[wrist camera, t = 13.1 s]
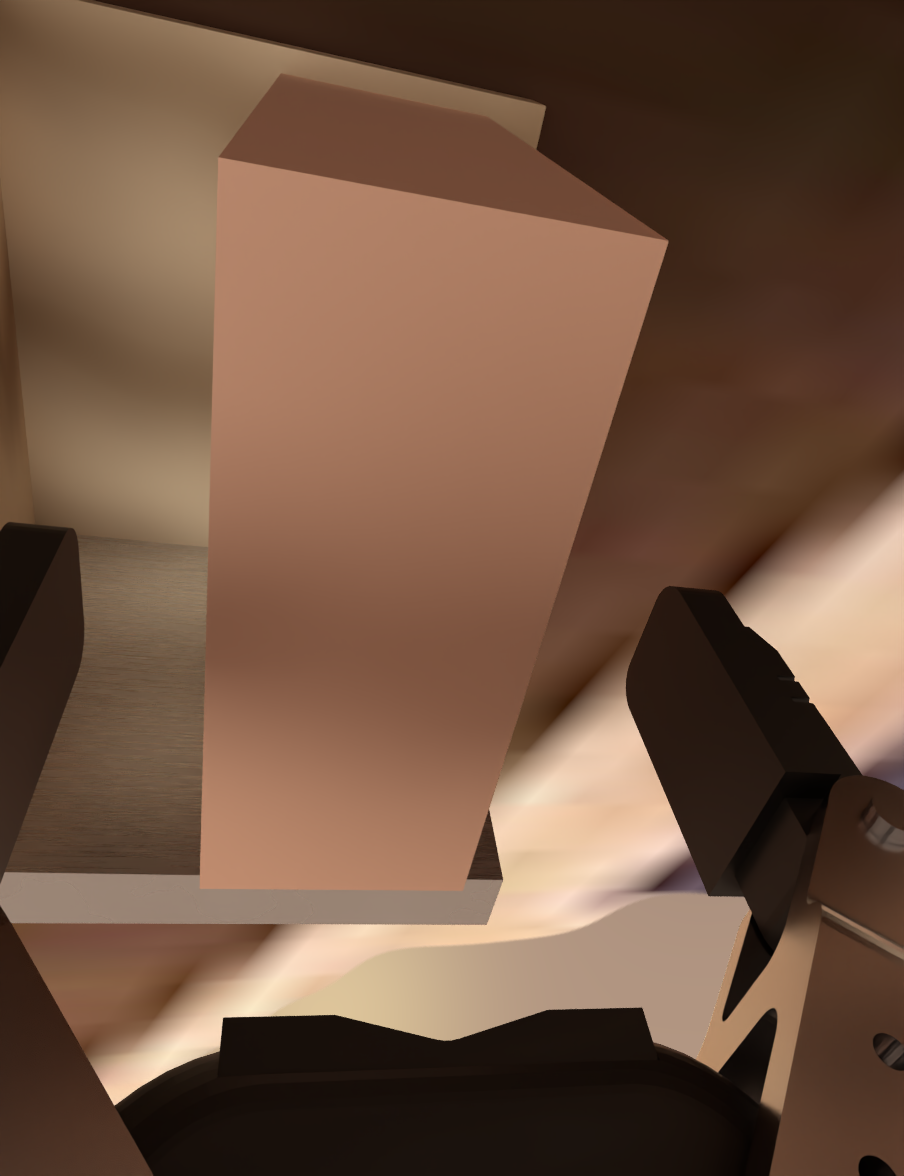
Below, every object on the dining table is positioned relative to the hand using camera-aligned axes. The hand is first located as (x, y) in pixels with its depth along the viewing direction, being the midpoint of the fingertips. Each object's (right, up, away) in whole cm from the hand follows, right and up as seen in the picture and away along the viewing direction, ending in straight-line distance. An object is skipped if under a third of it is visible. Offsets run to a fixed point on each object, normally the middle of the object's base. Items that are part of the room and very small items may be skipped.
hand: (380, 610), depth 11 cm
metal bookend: (-5, +1, +13) cm, 14 cm away
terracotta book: (-1, +6, +9) cm, 12 cm away
